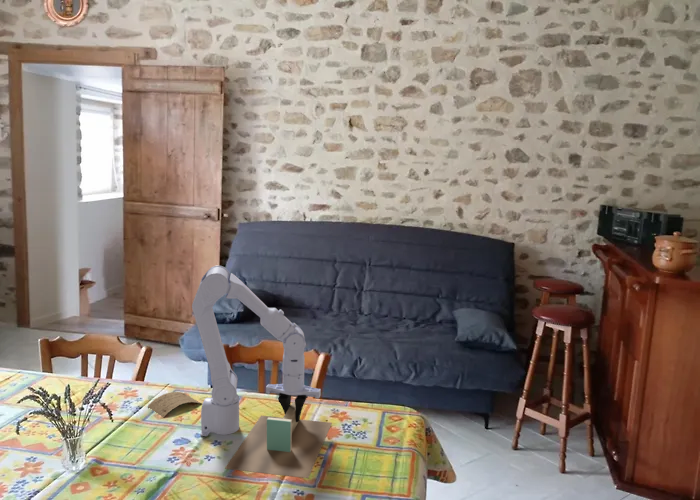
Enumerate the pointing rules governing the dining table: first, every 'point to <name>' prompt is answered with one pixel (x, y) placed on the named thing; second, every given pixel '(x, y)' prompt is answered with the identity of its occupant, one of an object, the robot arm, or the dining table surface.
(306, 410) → the dining table surface
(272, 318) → the robot arm
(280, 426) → the tile
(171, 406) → the brown curved sheet
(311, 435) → the board
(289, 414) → the beige long rectangular bar
